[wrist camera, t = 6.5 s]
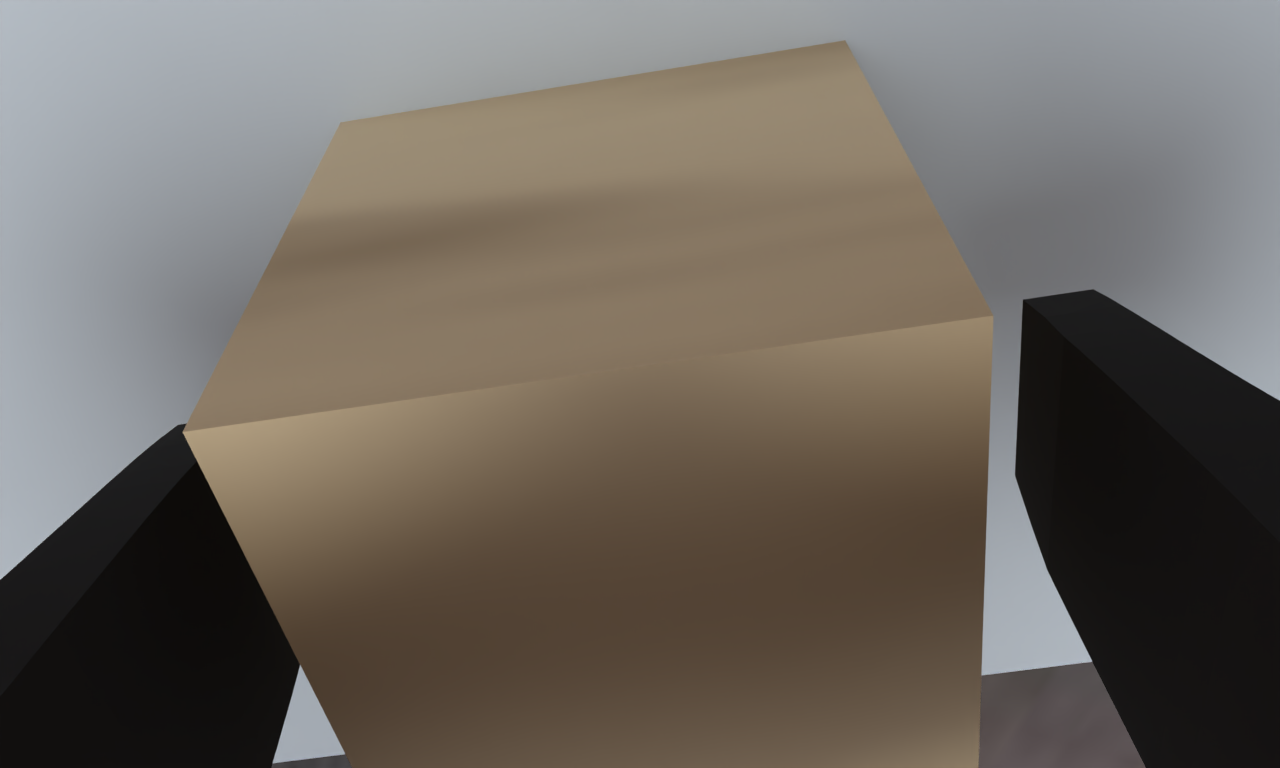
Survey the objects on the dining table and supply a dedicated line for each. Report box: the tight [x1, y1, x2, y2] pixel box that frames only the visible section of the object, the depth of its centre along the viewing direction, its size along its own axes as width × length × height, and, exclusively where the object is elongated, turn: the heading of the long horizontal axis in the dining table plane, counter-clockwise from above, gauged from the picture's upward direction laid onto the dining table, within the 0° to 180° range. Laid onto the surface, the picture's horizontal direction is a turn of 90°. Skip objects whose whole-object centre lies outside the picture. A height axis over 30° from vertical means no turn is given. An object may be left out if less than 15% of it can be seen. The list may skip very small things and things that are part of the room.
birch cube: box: [183, 40, 993, 768], centre depth 10 cm, size 5×5×5 cm
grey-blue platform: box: [0, 0, 1280, 763], centre depth 14 cm, size 14×18×3 cm
